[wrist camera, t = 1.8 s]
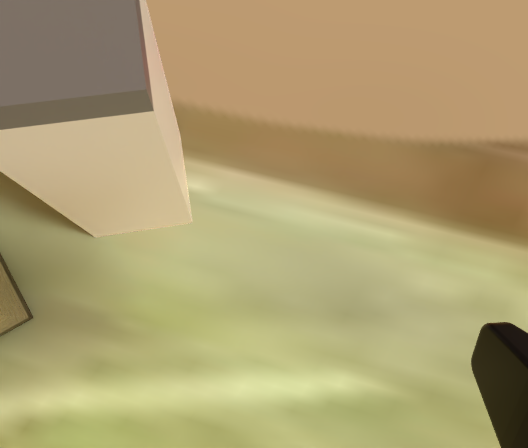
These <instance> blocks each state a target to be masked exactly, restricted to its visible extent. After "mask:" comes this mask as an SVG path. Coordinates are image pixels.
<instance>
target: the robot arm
mask: <svg viewBox="0 0 528 448" xmlns="http://www.w3.org/2000/svg"><path fill="white" fill-rule="evenodd" d="M471 365H472V371H473V374H474V377H475V379H476V382H477V385H478V387H479V390H480V393H481V395H482V398H483V401H484V403H485V406H486V409H487V411H488V414H489V417H490V419H491V422H492V425H493V428H494V430H495V433H496V436H497V438H498V441H499V444H500V446H501V448H528V333H527V332H525V331H523V330H522V329H520V328H518V327H517V326H515V325H513V324H511V323H507V322H500V323H487V324H485V325H484V326H483V327H482V328H481V330H480V333H479V336H478V340H477V343H476V346H475V349H474V352H473V355H472V359H471Z"/></svg>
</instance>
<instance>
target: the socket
mask: <svg viewBox="0 0 528 448" xmlns="http://www.w3.org/2000/svg"><path fill="white" fill-rule="evenodd" d="M32 318H33V316H32V314H31V312H30V310H29V308H28V306H27V304H26V302H25V300H24V298H23V296H22V294H21V292H20V291H19V289H18V287H17V285H16V283H15V281H14V279H13V277H12V275H11V273H10V271H9V269H8V267H7V265H6V263H5V261H4V259H3V258H2V256H1V254H0V336H2V335H4V334H6V333H7V332H9V331H11V330H13V329H14V328H16V327H18V326H20V325H21V324H23V323H25V322H27V321H28V320H30V319H32Z"/></svg>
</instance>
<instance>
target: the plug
mask: <svg viewBox="0 0 528 448" xmlns="http://www.w3.org/2000/svg"><path fill="white" fill-rule="evenodd" d="M0 171H1V172H2V173H3V174H5V175H6V176H8V177H9V178H11V179H12V180H14V181H15V182H16V183H18V184H19V185H21V186H22V187H24V188H25V189H26V190H28V191H29V192H31V193H32V194H34V195H35V196H37V197H38V198H39V199H41V200H42V201H44V202H45V203H47V204H48V205H49V206H51V207H52V208H54V209H55V210H57V211H58V212H60V213H61V214H62V215H64V216H65V217H67V218H68V219H70V220H71V221H72V222H74V223H75V224H77V225H78V226H80V227H81V228H82V229H84V230H85V231H87V232H88V233H90V234H91V235H93V236H94V237H102V236H109V235H115V234H122V233H129V232H135V231H142V230H149V229H156V228H162V227H169V226H176V225H182V224H189V223H193V222H192V215H191V208H190V200H189V193H188V186H187V179H186V172H185V165H184V158H183V151H182V144H181V137H180V132H179V128H178V124H177V120H176V117H175V113H174V109H173V105H172V101H171V97H170V93H169V89H168V85H167V81H166V77H165V73H164V70H163V66H162V62H161V58H160V55H159V50H158V46H157V43H156V38H155V34H154V30H153V27H152V23H151V19H150V15H149V11H148V7H147V3H146V0H0Z"/></svg>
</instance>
